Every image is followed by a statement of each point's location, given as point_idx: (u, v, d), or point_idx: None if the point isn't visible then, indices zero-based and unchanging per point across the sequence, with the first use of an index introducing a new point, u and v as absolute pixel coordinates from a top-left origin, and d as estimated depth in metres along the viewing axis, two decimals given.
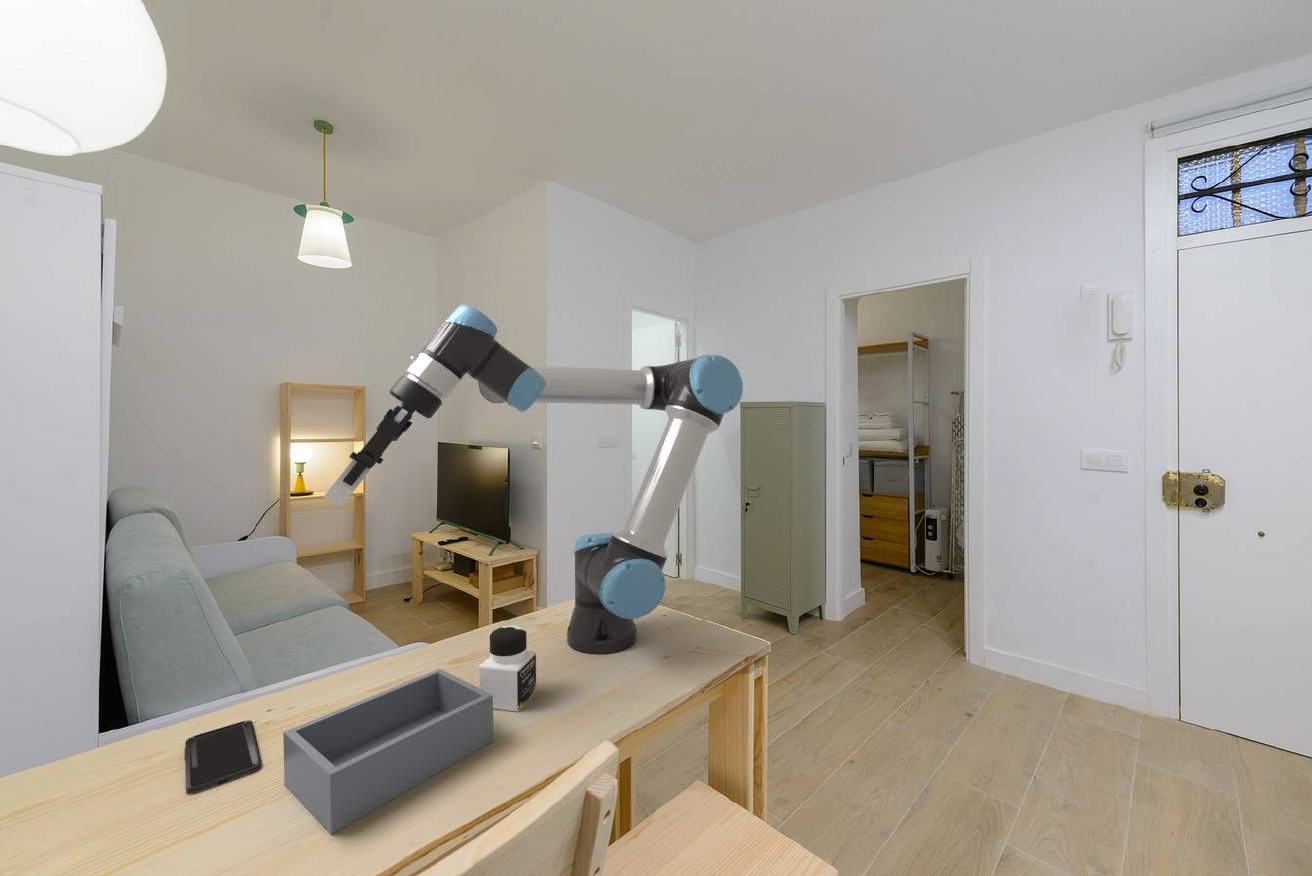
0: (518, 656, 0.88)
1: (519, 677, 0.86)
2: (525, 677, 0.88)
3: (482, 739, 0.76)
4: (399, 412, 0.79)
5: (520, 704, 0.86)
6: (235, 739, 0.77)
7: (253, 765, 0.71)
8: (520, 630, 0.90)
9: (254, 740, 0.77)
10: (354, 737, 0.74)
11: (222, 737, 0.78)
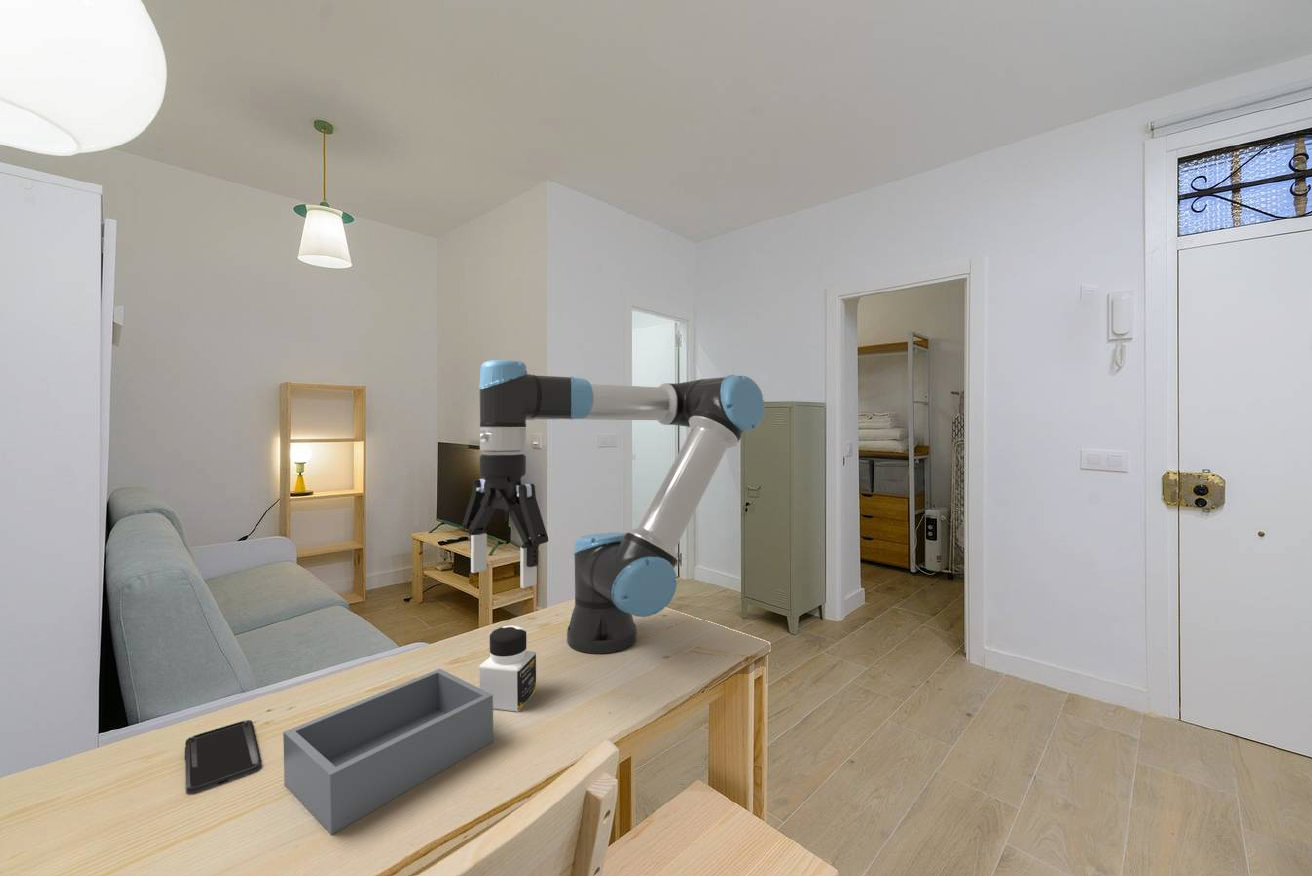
0: (518, 656, 0.88)
1: (519, 677, 0.86)
2: (525, 677, 0.88)
3: (482, 739, 0.76)
4: (527, 489, 0.84)
5: (520, 704, 0.86)
6: (235, 739, 0.77)
7: (253, 765, 0.71)
8: (520, 630, 0.90)
9: (254, 740, 0.77)
10: (354, 737, 0.74)
11: (222, 737, 0.78)
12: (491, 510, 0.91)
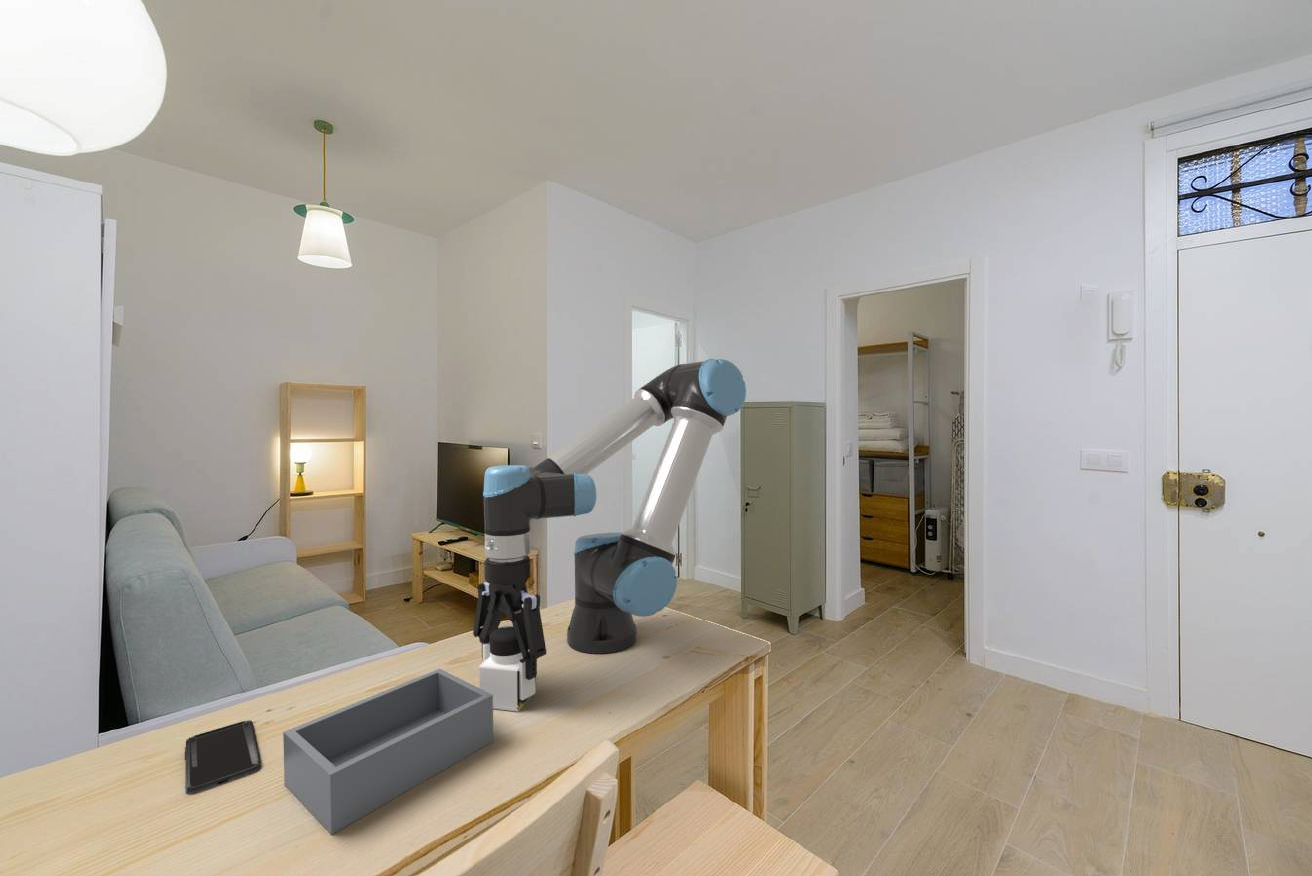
0: (518, 656, 0.88)
1: None
2: None
3: (482, 739, 0.76)
4: (532, 603, 0.85)
5: (520, 704, 0.86)
6: (236, 739, 0.77)
7: (253, 765, 0.71)
8: None
9: (254, 740, 0.77)
10: (354, 737, 0.74)
11: (222, 737, 0.78)
12: (499, 614, 0.91)
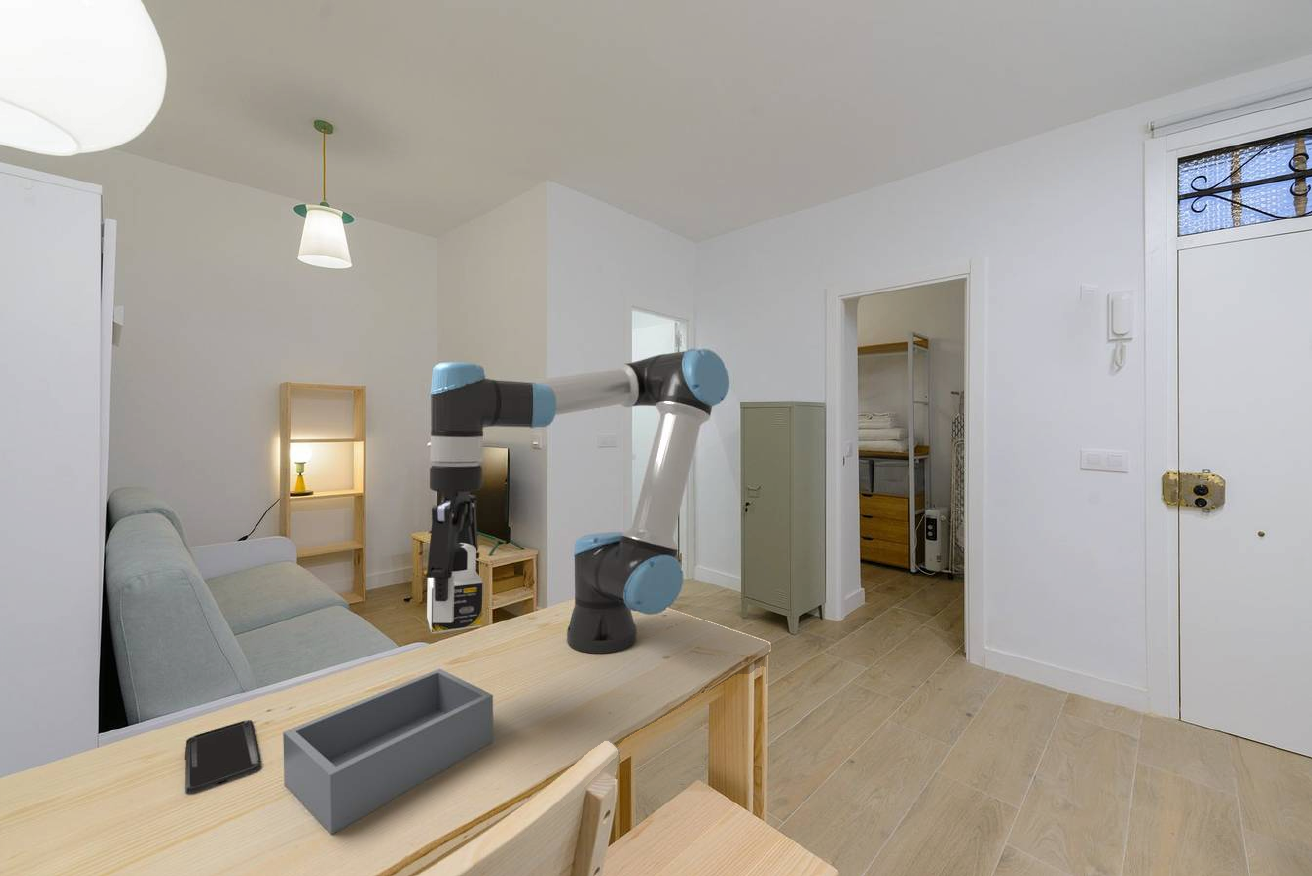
0: None
1: None
2: None
3: (482, 739, 0.76)
4: (437, 512, 0.74)
5: (437, 627, 0.77)
6: (236, 739, 0.77)
7: (252, 765, 0.71)
8: (461, 548, 0.79)
9: (254, 740, 0.77)
10: (354, 737, 0.74)
11: (222, 737, 0.78)
12: (463, 529, 0.84)
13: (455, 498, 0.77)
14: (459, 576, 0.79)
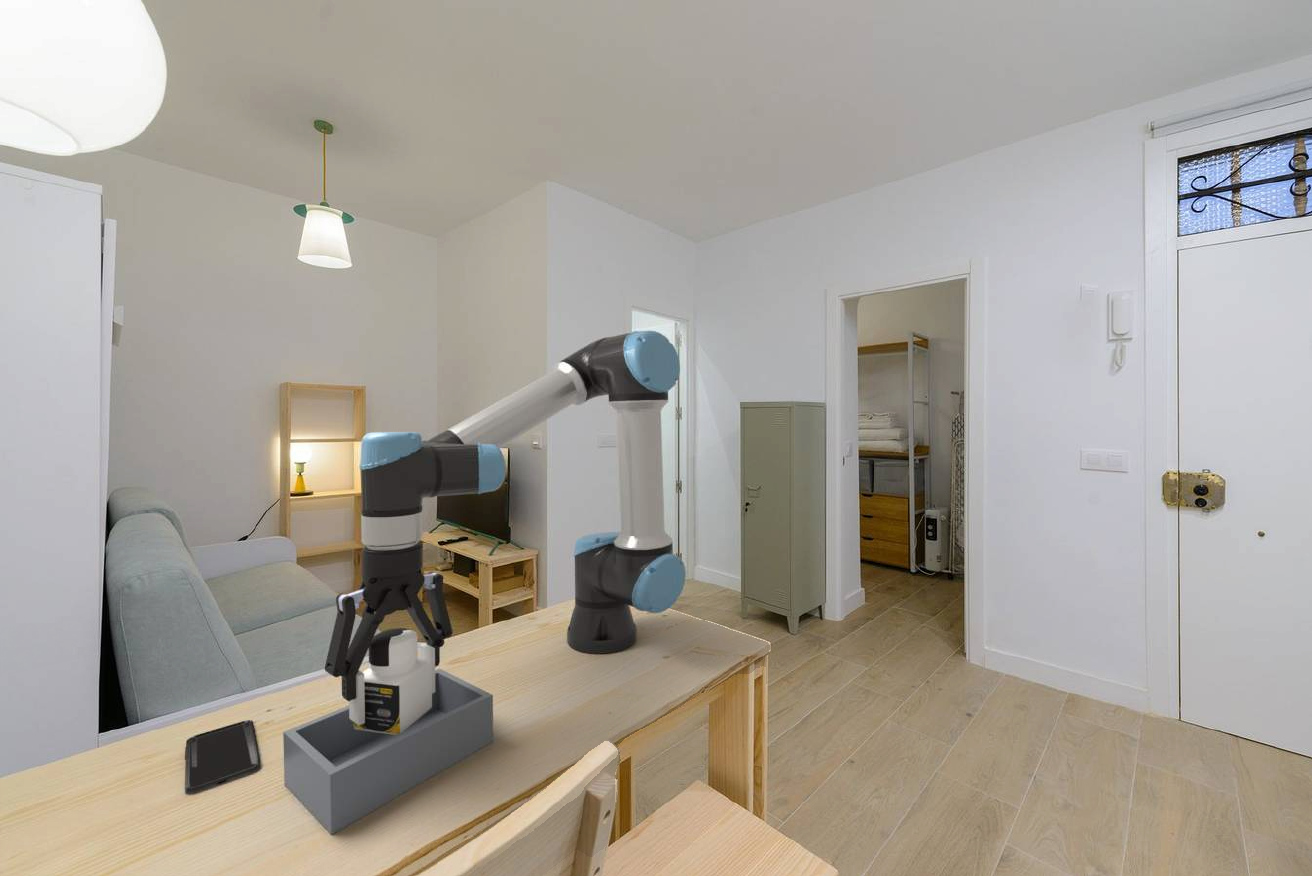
0: (370, 667, 0.71)
1: None
2: (369, 698, 0.70)
3: (482, 739, 0.76)
4: (338, 602, 0.67)
5: None
6: (236, 739, 0.77)
7: (252, 765, 0.71)
8: (387, 640, 0.71)
9: (254, 740, 0.77)
10: (354, 737, 0.74)
11: (223, 737, 0.78)
12: (413, 614, 0.75)
13: (370, 585, 0.69)
14: (381, 672, 0.70)
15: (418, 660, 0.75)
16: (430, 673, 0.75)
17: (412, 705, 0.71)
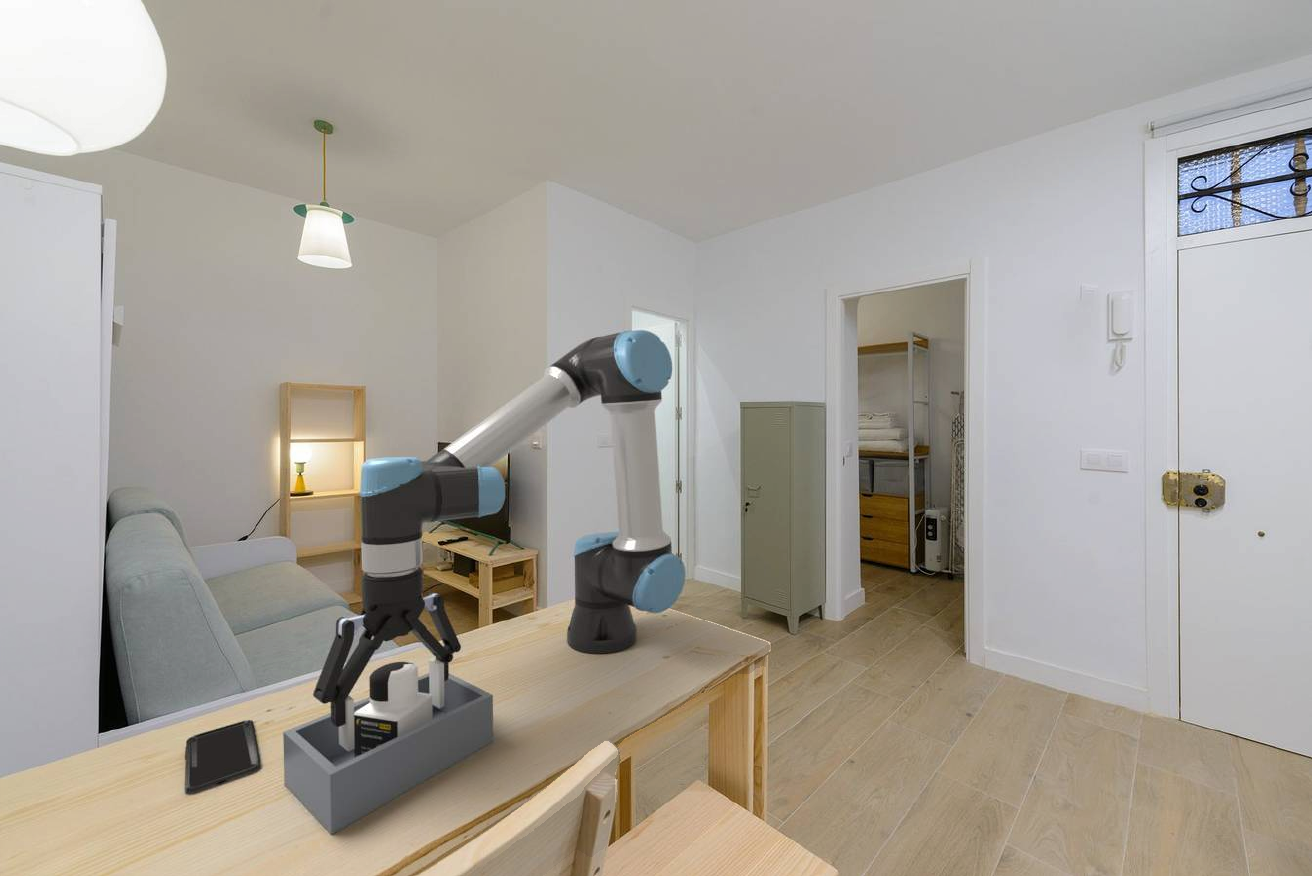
0: (370, 701, 0.71)
1: (356, 725, 0.70)
2: (368, 733, 0.70)
3: (482, 739, 0.76)
4: (338, 626, 0.67)
5: None
6: (236, 739, 0.77)
7: (252, 765, 0.71)
8: (386, 674, 0.71)
9: (254, 740, 0.77)
10: None
11: (223, 737, 0.78)
12: (418, 636, 0.75)
13: (371, 612, 0.69)
14: (380, 707, 0.70)
15: (419, 694, 0.75)
16: (431, 707, 0.75)
17: None
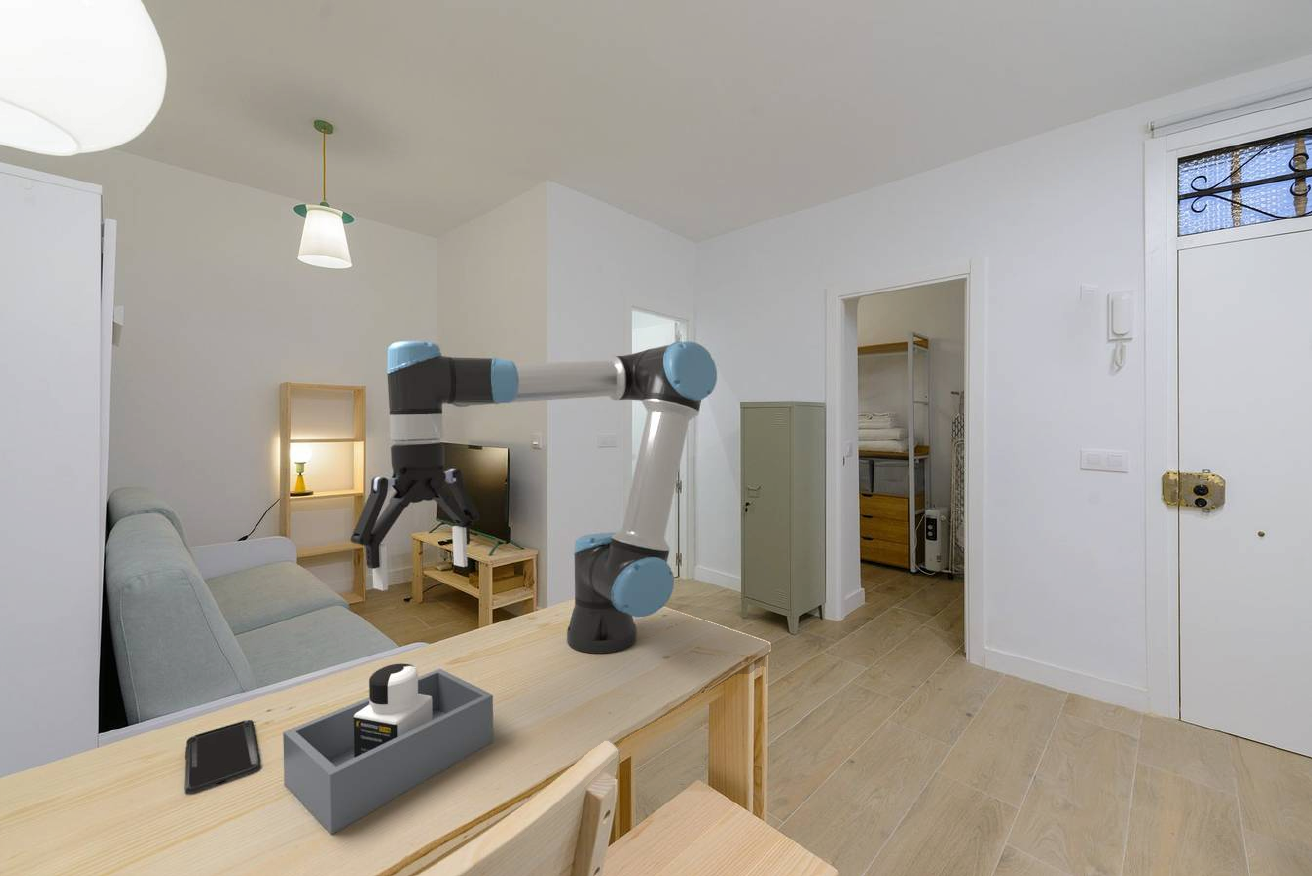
0: (370, 704, 0.71)
1: (356, 727, 0.70)
2: (368, 736, 0.70)
3: (482, 739, 0.76)
4: (374, 482, 0.77)
5: None
6: (236, 739, 0.77)
7: (252, 766, 0.71)
8: (386, 677, 0.71)
9: (254, 740, 0.77)
10: None
11: (223, 737, 0.78)
12: (442, 503, 0.85)
13: (402, 474, 0.79)
14: (380, 709, 0.70)
15: (419, 696, 0.75)
16: (431, 709, 0.75)
17: None
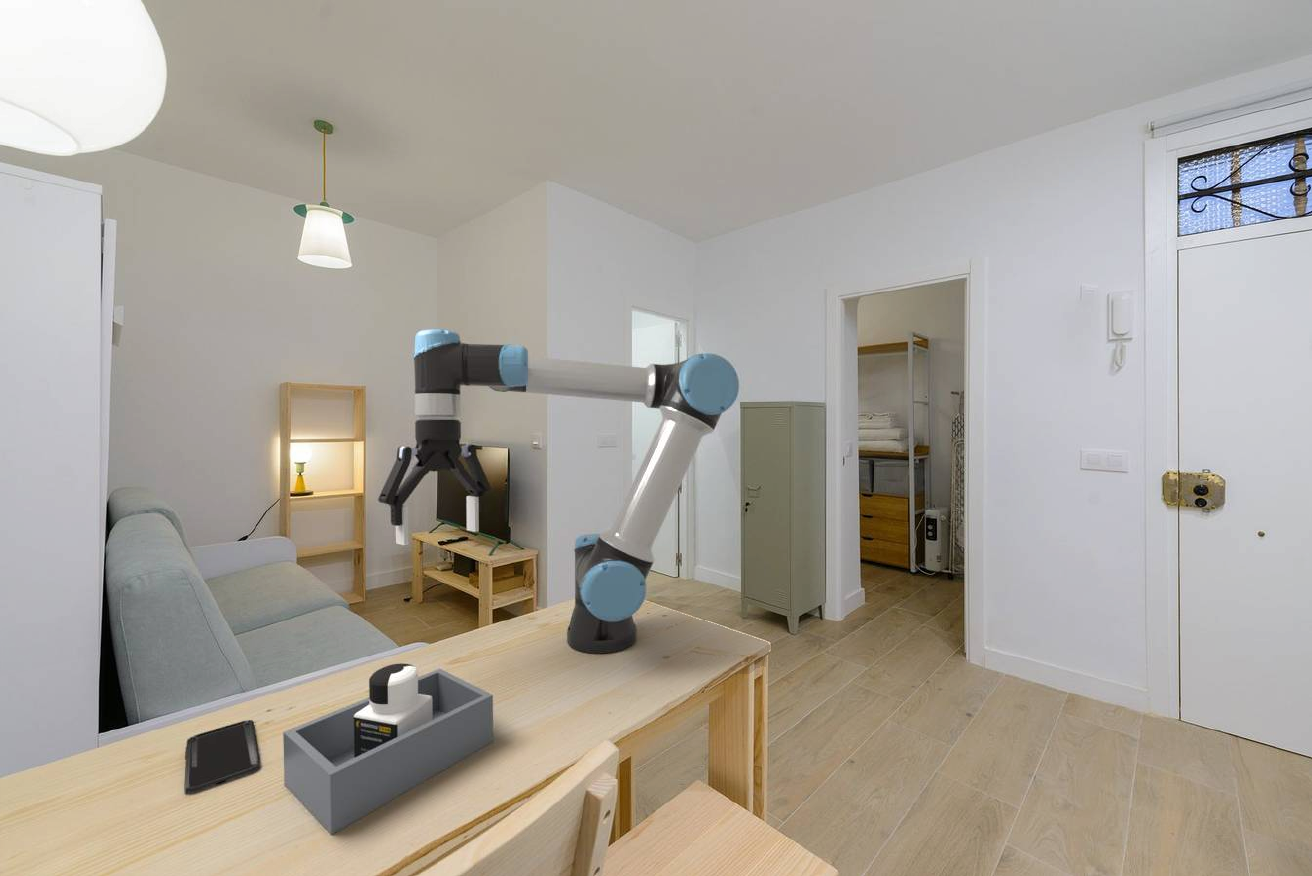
0: (370, 704, 0.71)
1: (356, 727, 0.70)
2: (368, 736, 0.70)
3: (482, 739, 0.76)
4: (399, 451, 0.89)
5: None
6: (236, 739, 0.77)
7: (252, 766, 0.71)
8: (386, 677, 0.71)
9: (254, 740, 0.77)
10: None
11: (223, 737, 0.78)
12: (458, 473, 0.97)
13: (424, 445, 0.90)
14: (380, 709, 0.70)
15: (419, 696, 0.75)
16: (431, 709, 0.75)
17: None
